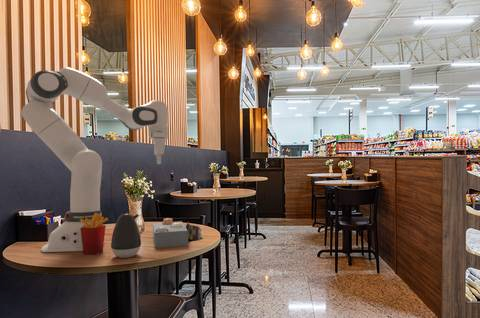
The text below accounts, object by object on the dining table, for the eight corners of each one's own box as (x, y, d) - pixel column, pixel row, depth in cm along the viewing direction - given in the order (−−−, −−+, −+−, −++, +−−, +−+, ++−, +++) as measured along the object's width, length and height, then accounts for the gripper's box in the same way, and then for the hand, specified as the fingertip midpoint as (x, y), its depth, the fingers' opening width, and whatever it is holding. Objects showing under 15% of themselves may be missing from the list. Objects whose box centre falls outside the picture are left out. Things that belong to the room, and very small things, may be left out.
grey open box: (154, 248, 130) (154, 232, 130) (153, 236, 152) (153, 223, 152) (187, 245, 134) (187, 230, 134) (181, 234, 156) (181, 221, 156)
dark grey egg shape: (147, 254, 121) (147, 212, 121) (123, 261, 112) (122, 216, 112) (129, 250, 126) (129, 210, 127) (105, 257, 118) (104, 214, 118)
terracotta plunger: (163, 231, 148) (163, 219, 148) (163, 229, 152) (163, 218, 152) (172, 230, 149) (172, 219, 150) (172, 228, 153) (172, 218, 153)
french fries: (79, 255, 121) (79, 213, 122) (92, 249, 130) (92, 210, 130) (101, 255, 120) (101, 214, 120) (113, 249, 128) (113, 210, 129)
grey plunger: (157, 241, 132) (156, 228, 132) (156, 239, 136) (156, 227, 136) (167, 240, 133) (167, 228, 133) (166, 238, 137) (166, 226, 137)
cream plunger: (172, 236, 140) (172, 224, 141) (171, 234, 144) (171, 223, 144) (181, 235, 142) (181, 224, 142) (180, 234, 145) (180, 222, 146)
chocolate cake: (203, 242, 142) (205, 219, 150) (187, 238, 140) (190, 216, 148) (196, 253, 147) (198, 231, 156) (180, 250, 146) (184, 227, 154)
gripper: (151, 137, 168) (151, 164, 167) (152, 133, 148) (152, 164, 148) (164, 137, 169) (164, 164, 169) (166, 133, 150) (167, 163, 149)
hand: (158, 164), depth 158 cm, fingers closed
